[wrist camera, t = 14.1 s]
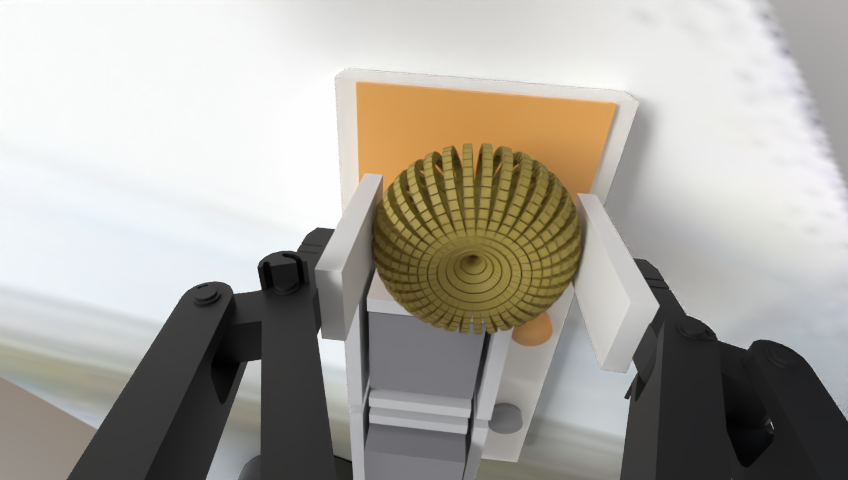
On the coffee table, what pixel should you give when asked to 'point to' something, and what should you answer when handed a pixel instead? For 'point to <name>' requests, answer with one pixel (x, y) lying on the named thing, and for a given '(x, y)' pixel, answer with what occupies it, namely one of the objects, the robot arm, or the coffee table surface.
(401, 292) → the sculpture
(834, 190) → the coffee table surface
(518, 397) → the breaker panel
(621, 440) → the coffee table surface
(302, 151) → the coffee table surface
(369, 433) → the block
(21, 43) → the coffee table surface
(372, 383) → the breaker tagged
